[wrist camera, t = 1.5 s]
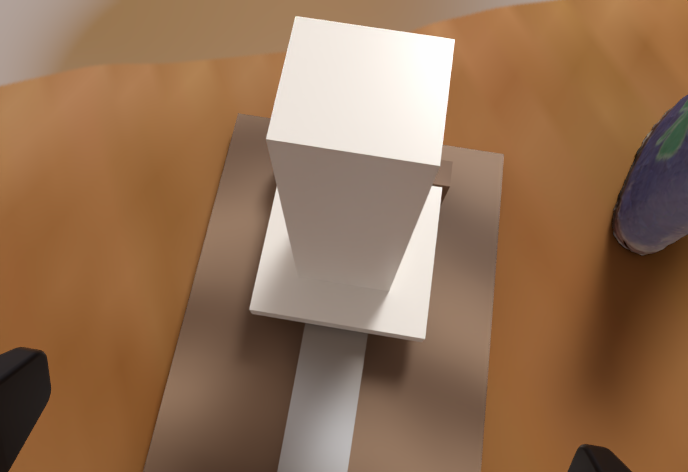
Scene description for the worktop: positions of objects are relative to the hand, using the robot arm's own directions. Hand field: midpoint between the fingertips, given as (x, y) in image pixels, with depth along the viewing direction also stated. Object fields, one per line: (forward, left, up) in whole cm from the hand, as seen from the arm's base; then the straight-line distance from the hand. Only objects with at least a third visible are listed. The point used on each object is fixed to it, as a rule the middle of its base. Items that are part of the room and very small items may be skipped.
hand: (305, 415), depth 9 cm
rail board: (+1, -2, -13) cm, 13 cm away
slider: (+4, -5, -11) cm, 12 cm away
